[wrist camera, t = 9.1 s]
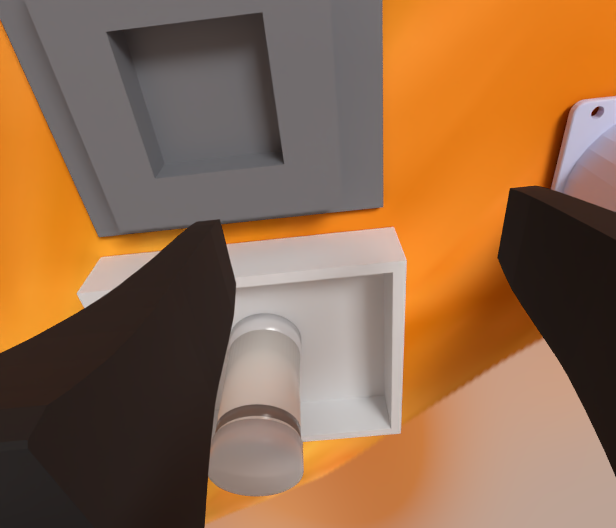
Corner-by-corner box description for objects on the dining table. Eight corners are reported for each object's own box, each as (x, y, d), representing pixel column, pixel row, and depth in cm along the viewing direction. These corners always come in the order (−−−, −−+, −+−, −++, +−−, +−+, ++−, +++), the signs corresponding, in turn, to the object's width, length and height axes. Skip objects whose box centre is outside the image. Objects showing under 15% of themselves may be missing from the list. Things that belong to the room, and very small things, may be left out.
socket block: (379, -126, 14) (391, -138, 12) (381, 203, 21) (389, 223, 19) (-33, -70, 14) (-75, -75, 13) (101, 233, 21) (85, 255, 20)
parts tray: (393, 227, 22) (406, 260, 19) (391, 394, 29) (400, 433, 27) (101, 257, 22) (76, 293, 20) (173, 413, 30) (162, 453, 27)
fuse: (296, 310, 24) (297, 440, 17) (305, 361, 26) (308, 492, 20) (223, 316, 24) (195, 448, 17) (237, 367, 26) (218, 499, 20)
